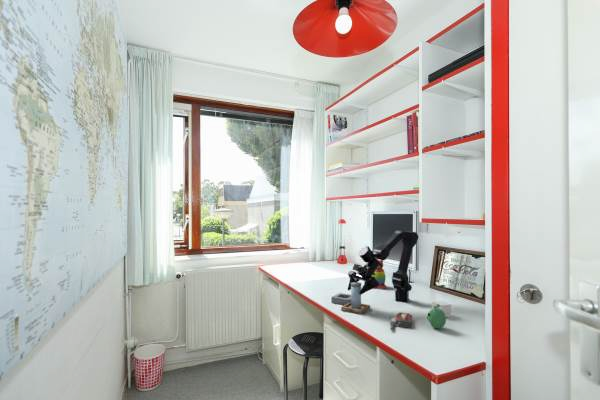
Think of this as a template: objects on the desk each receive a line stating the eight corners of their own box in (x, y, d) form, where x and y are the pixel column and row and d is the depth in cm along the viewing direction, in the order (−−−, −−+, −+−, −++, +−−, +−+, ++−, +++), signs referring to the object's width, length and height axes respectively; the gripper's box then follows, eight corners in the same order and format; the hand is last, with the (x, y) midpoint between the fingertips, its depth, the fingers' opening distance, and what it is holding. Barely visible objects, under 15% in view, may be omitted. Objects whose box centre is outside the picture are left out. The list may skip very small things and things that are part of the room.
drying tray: (370, 308, 165) (370, 305, 165) (361, 314, 156) (361, 310, 156) (350, 305, 171) (350, 301, 171) (341, 310, 162) (341, 306, 162)
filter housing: (356, 301, 178) (356, 295, 178) (348, 305, 170) (348, 299, 170) (339, 298, 184) (339, 292, 184) (331, 302, 175) (331, 297, 176)
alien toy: (429, 323, 144) (429, 301, 144) (448, 327, 139) (447, 304, 139) (424, 328, 138) (424, 304, 138) (443, 332, 133) (443, 308, 134)
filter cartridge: (361, 306, 165) (361, 282, 166) (361, 309, 160) (361, 284, 161) (350, 306, 166) (350, 281, 167) (350, 309, 161) (350, 284, 162)
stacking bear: (369, 288, 207) (369, 260, 208) (370, 284, 217) (370, 258, 217) (386, 289, 204) (386, 261, 205) (386, 285, 214) (386, 259, 214)
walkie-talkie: (392, 317, 153) (388, 332, 134) (392, 308, 153) (388, 321, 134) (412, 319, 150) (411, 335, 131) (412, 310, 150) (410, 324, 131)
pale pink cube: (451, 317, 153) (451, 304, 153) (440, 318, 151) (440, 305, 151) (442, 313, 159) (442, 300, 159) (432, 314, 157) (432, 301, 157)
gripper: (350, 255, 174) (333, 278, 168) (374, 260, 158) (356, 285, 152) (361, 269, 178) (345, 291, 172) (386, 275, 162) (369, 300, 156)
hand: (353, 292), depth 163 cm, fingers open, 9 cm apart
